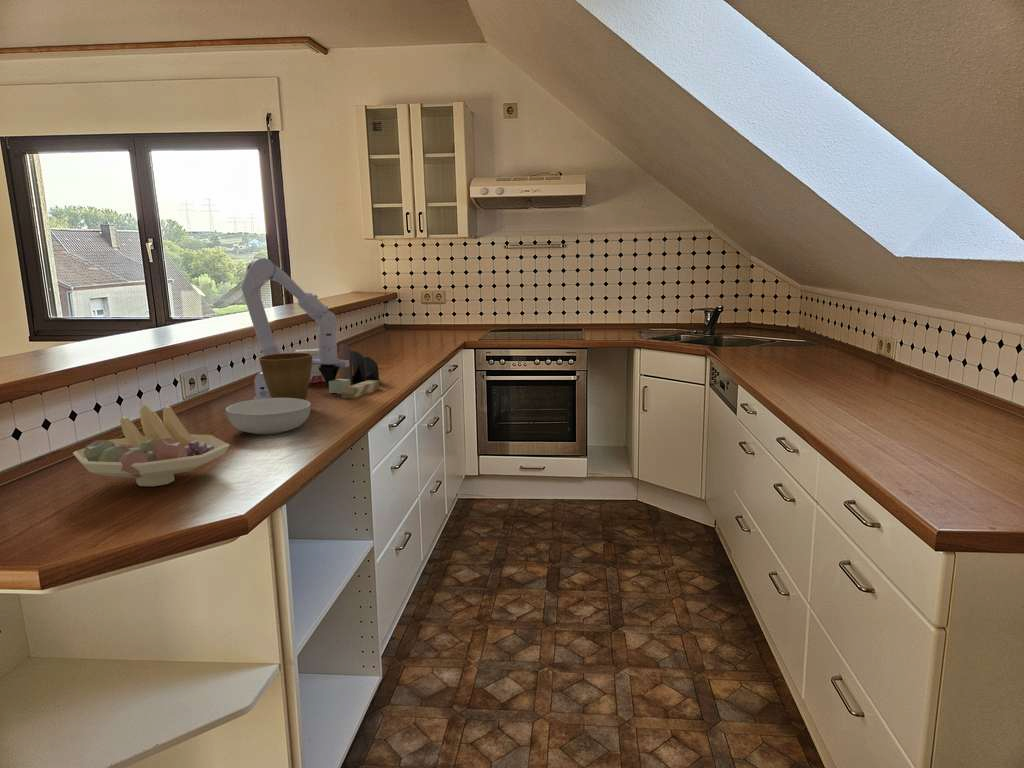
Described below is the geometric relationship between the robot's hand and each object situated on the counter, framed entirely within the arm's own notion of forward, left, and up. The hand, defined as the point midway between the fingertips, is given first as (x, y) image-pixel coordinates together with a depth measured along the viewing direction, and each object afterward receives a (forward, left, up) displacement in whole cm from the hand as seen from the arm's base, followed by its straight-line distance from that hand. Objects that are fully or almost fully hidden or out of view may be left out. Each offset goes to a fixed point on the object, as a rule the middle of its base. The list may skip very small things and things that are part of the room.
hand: (330, 387), depth 234 cm
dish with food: (-91, -22, -2) cm, 94 cm away
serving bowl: (-49, -16, -2) cm, 52 cm away
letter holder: (+17, 0, -2) cm, 17 cm away
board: (0, -12, -1) cm, 12 cm away
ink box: (+12, +17, -2) cm, 21 cm away
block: (0, -4, -1) cm, 4 cm away
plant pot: (-26, -4, -2) cm, 26 cm away
